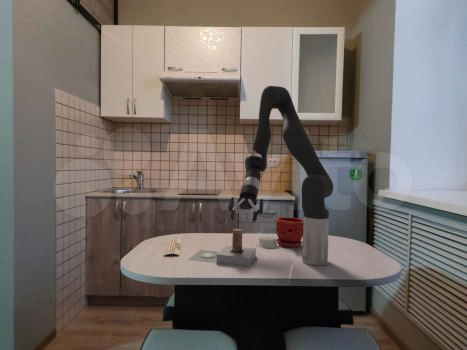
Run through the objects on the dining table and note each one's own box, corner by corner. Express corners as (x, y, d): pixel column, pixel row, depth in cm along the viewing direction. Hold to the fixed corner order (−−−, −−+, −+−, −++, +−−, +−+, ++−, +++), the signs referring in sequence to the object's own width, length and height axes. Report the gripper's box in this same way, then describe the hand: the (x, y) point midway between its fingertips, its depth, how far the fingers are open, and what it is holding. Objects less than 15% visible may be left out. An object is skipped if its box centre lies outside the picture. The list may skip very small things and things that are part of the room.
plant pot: (298, 250, 126) (299, 223, 125) (270, 245, 133) (271, 219, 132) (308, 244, 137) (309, 218, 137) (281, 239, 144) (282, 215, 143)
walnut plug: (242, 258, 111) (243, 229, 110) (240, 261, 107) (241, 231, 107) (233, 257, 112) (234, 228, 111) (230, 260, 108) (231, 230, 108)
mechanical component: (261, 243, 137) (252, 248, 128) (261, 234, 137) (252, 238, 128) (281, 246, 132) (274, 252, 123) (282, 237, 132) (274, 242, 123)
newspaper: (168, 242, 137) (168, 238, 137) (183, 241, 138) (183, 238, 138) (163, 258, 114) (163, 253, 114) (182, 257, 115) (182, 253, 115)
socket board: (255, 258, 114) (256, 248, 114) (248, 269, 102) (249, 258, 102) (200, 252, 120) (201, 242, 120) (187, 262, 108) (187, 251, 108)
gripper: (232, 183, 127) (224, 213, 116) (265, 184, 123) (259, 216, 112) (235, 194, 132) (227, 224, 122) (267, 195, 128) (261, 227, 118)
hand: (242, 220), depth 117 cm, fingers open, 8 cm apart
